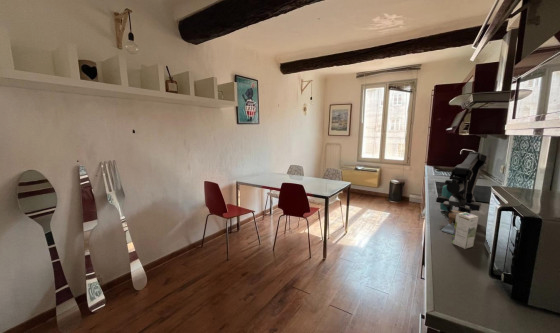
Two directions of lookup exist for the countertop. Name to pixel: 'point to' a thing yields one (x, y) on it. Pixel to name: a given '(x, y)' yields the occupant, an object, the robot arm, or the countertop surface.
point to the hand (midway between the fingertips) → (455, 217)
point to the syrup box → (465, 230)
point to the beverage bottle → (445, 194)
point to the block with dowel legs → (453, 215)
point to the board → (448, 228)
